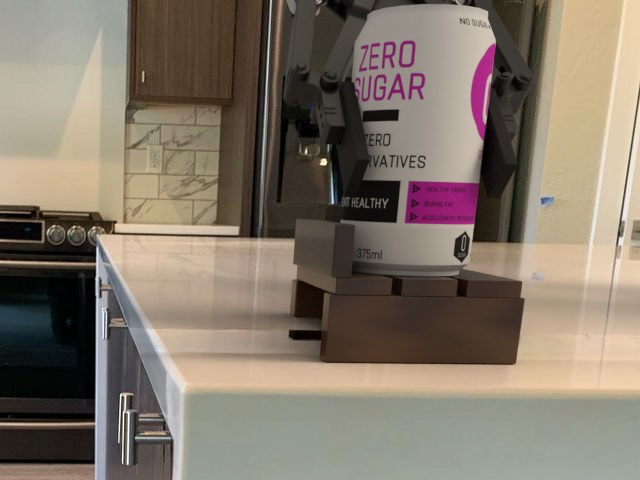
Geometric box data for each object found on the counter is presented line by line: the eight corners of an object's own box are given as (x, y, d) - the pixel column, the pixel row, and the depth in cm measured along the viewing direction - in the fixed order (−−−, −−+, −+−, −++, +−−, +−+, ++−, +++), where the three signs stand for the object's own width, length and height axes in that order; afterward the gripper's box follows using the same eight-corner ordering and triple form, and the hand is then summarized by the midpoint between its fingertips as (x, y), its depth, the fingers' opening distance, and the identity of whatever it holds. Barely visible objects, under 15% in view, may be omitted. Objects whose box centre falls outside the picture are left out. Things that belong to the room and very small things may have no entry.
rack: (453, 339, 68) (466, 223, 65) (516, 364, 58) (534, 229, 56) (288, 337, 67) (295, 218, 64) (324, 362, 57) (335, 224, 55)
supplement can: (469, 270, 63) (499, 24, 59) (465, 280, 56) (499, -1, 52) (347, 264, 66) (367, 27, 62) (328, 273, 58) (348, 4, 54)
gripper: (495, -2, 71) (570, 228, 60) (217, -16, 69) (244, 220, 58) (538, -104, 64) (631, 135, 54) (233, -122, 62) (267, 122, 52)
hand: (430, 179), depth 56 cm, fingers closed on supplement can, 8 cm apart
